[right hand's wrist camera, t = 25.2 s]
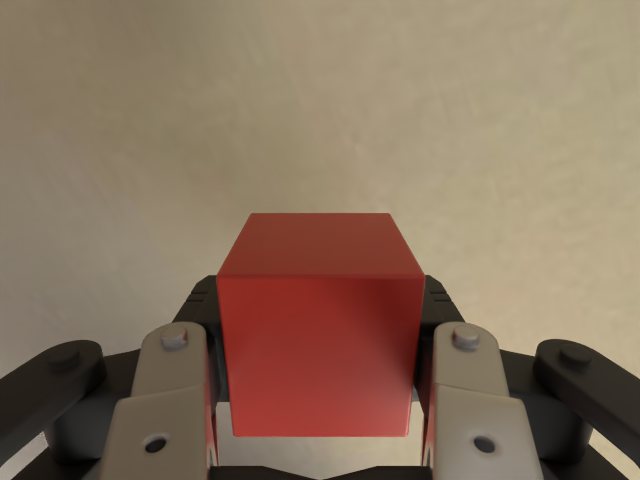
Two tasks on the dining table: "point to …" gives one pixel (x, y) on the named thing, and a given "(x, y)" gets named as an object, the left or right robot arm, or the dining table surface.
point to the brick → (320, 325)
